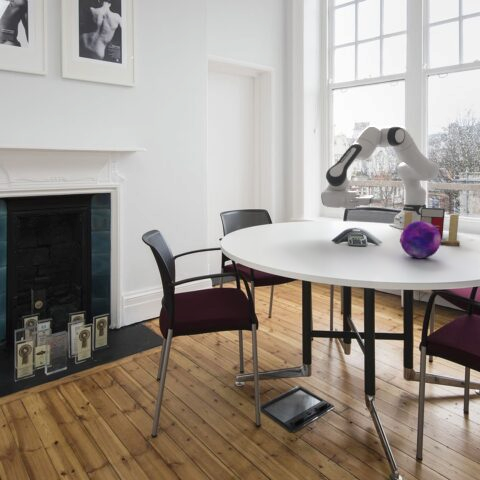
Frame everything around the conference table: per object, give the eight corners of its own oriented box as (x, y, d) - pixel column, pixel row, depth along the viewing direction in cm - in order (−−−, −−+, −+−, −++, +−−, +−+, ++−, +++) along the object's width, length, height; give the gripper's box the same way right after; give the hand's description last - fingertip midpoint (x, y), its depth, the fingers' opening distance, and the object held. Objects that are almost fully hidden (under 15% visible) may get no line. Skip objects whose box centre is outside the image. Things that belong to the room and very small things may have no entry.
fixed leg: (446, 241, 206) (448, 214, 204) (446, 240, 210) (448, 213, 208) (458, 242, 204) (460, 215, 202) (458, 241, 208) (460, 214, 206)
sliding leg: (401, 238, 214) (402, 212, 212) (402, 236, 218) (403, 211, 216) (412, 239, 212) (414, 212, 210) (412, 237, 216) (414, 211, 214)
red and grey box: (419, 236, 230) (421, 208, 227) (419, 235, 233) (422, 207, 231) (442, 238, 225) (444, 209, 222) (442, 237, 228) (445, 208, 226)
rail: (399, 242, 214) (399, 238, 213) (401, 240, 220) (401, 236, 220) (459, 246, 203) (459, 243, 203) (458, 243, 209) (459, 240, 209)
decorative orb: (413, 262, 169) (416, 224, 166) (392, 255, 183) (394, 219, 181) (447, 261, 172) (450, 223, 170) (423, 253, 187) (426, 218, 184)
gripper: (349, 194, 213) (378, 195, 208) (356, 192, 232) (384, 193, 226) (348, 207, 214) (378, 209, 209) (356, 204, 233) (383, 205, 227)
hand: (381, 200), depth 218 cm, fingers closed
